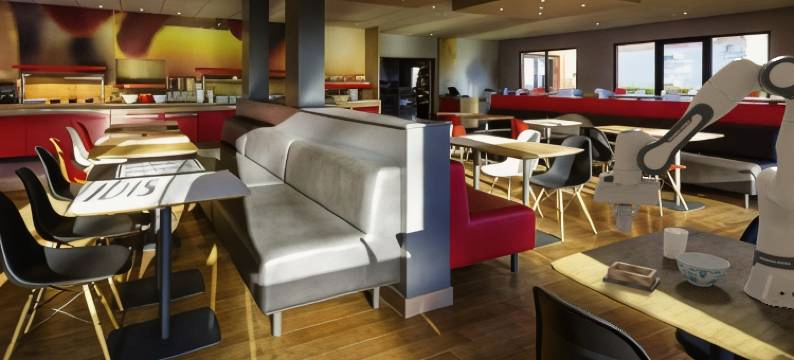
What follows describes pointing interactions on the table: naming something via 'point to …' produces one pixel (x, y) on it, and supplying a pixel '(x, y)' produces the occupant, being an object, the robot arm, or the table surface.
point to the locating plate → (632, 276)
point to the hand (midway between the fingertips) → (624, 216)
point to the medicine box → (624, 217)
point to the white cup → (674, 242)
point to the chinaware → (702, 268)
